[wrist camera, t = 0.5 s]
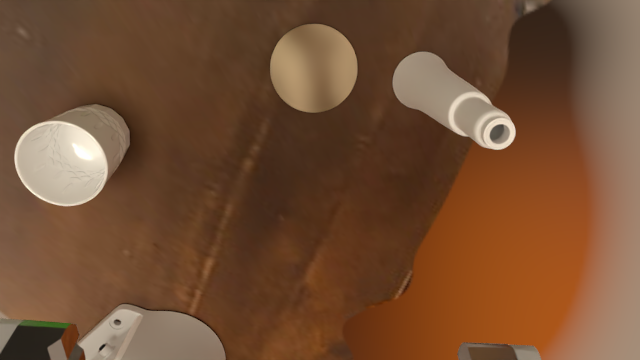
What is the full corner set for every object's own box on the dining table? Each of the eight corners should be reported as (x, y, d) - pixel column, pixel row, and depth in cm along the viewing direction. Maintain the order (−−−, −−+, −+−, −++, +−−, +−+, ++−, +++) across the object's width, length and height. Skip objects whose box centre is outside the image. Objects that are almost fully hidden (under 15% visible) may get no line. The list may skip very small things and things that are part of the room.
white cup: (137, 172, 58) (109, 208, 49) (61, 168, 57) (18, 203, 48) (135, 100, 55) (105, 124, 46) (56, 95, 55) (9, 117, 45)
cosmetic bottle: (393, 52, 56) (459, 91, 35) (450, 50, 56) (549, 88, 35) (391, 109, 58) (452, 178, 37) (446, 107, 58) (538, 174, 37)
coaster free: (299, 126, 58) (299, 128, 57) (253, 54, 55) (252, 54, 54) (372, 82, 56) (373, 83, 56) (328, 6, 54) (329, 6, 53)
